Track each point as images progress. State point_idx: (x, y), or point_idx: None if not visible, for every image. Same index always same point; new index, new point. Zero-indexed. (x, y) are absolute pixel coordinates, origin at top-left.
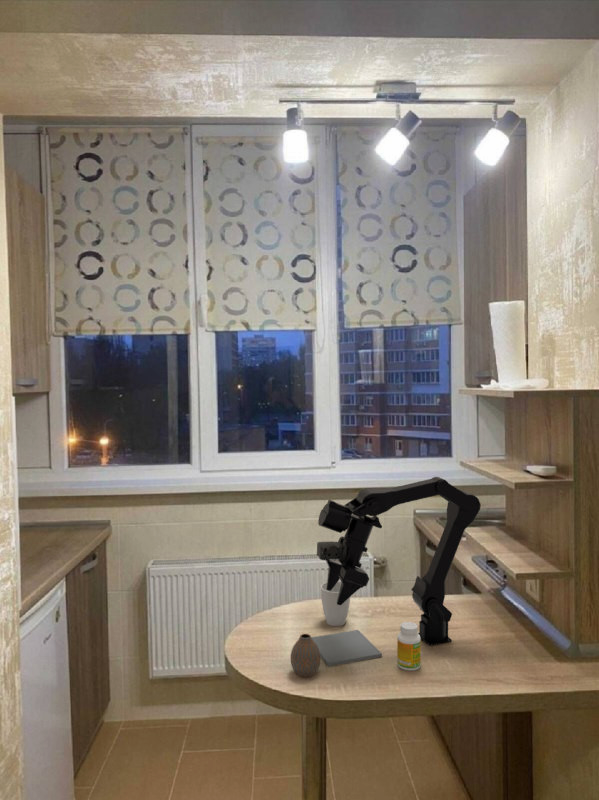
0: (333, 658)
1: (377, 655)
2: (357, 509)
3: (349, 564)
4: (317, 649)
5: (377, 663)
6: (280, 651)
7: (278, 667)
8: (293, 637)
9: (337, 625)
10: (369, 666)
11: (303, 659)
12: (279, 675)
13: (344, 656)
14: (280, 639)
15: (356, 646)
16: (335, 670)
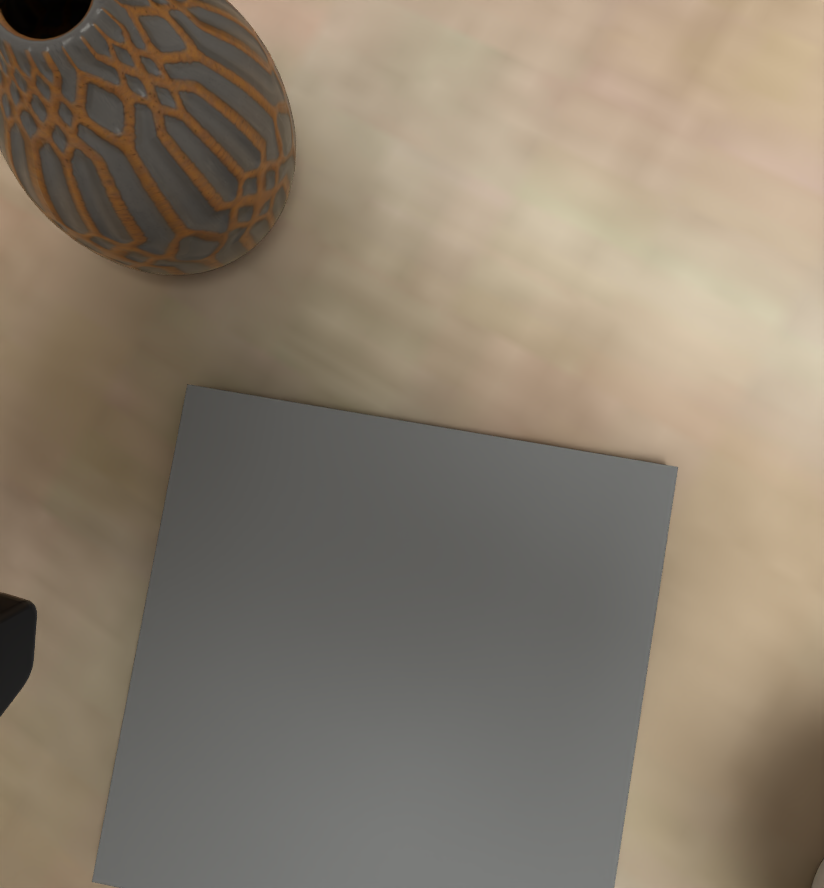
0: (231, 463)
1: (103, 831)
2: None
3: None
4: (13, 162)
5: (38, 762)
6: (609, 174)
7: (379, 49)
8: (795, 389)
9: (816, 880)
10: (33, 675)
11: (30, 26)
12: (269, 6)
13: (211, 562)
14: (814, 271)
15: (314, 763)
16: (118, 405)
